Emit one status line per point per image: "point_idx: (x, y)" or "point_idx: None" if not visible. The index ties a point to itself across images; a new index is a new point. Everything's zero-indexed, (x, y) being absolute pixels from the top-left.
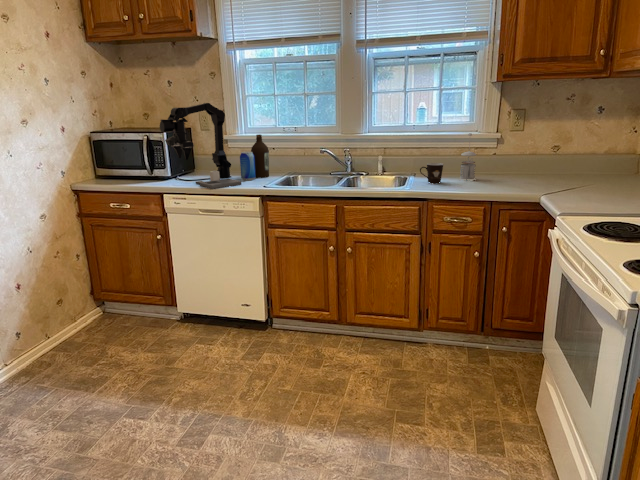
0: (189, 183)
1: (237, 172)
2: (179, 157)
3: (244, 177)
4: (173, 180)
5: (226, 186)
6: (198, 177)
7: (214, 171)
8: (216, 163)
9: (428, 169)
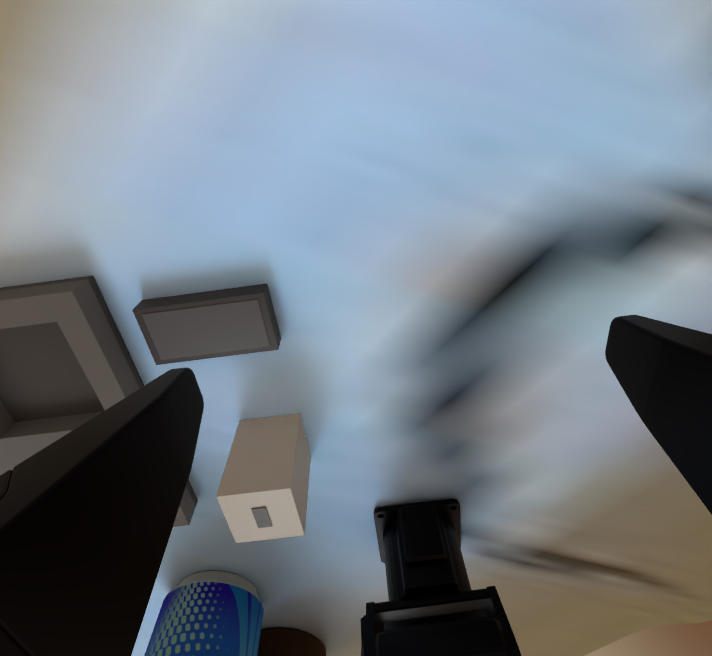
0: (328, 236)
1: (544, 617)
2: (623, 337)
3: (174, 595)
4: (675, 144)
5: None
6: (597, 400)
7: (250, 515)
8: (446, 621)
9: None
